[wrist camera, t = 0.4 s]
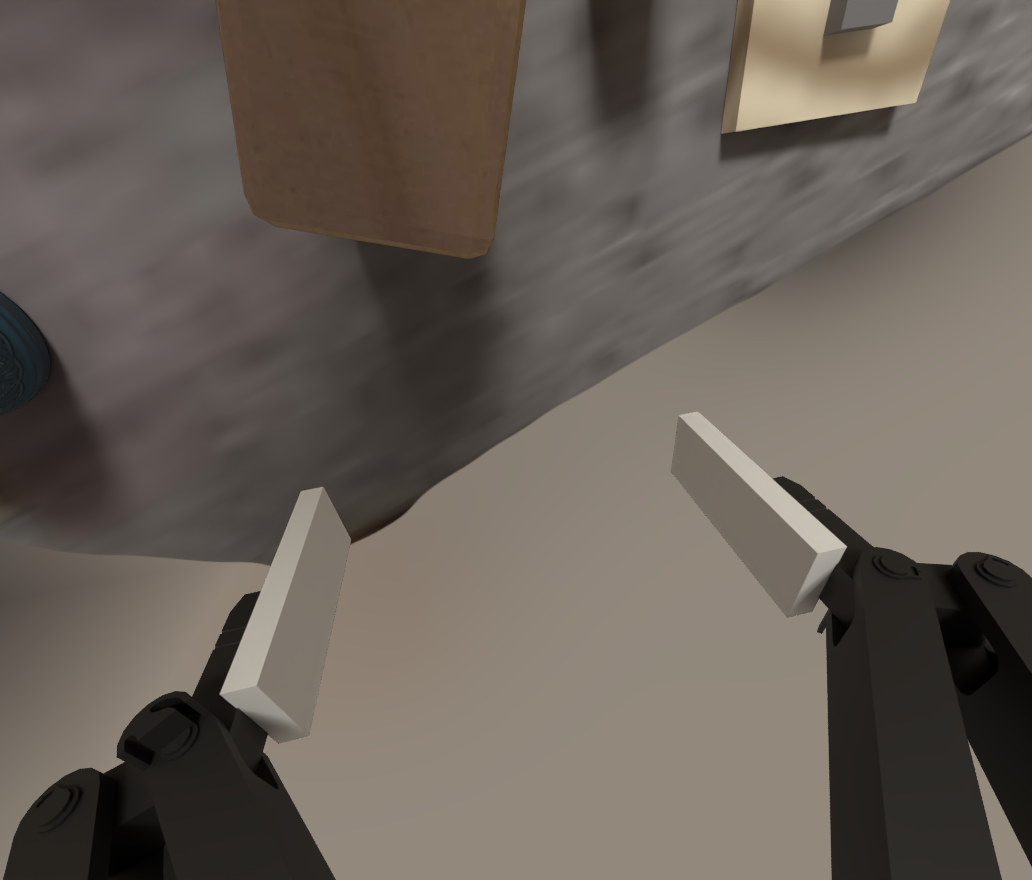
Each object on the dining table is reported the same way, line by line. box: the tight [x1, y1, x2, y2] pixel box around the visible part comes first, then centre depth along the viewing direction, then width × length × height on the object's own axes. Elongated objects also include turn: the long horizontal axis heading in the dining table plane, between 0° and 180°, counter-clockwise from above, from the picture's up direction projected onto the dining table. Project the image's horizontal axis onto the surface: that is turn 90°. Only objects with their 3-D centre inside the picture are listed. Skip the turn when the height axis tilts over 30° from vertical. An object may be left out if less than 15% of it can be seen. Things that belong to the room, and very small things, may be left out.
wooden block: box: [215, 0, 526, 259], centre depth 22 cm, size 10×10×20 cm
